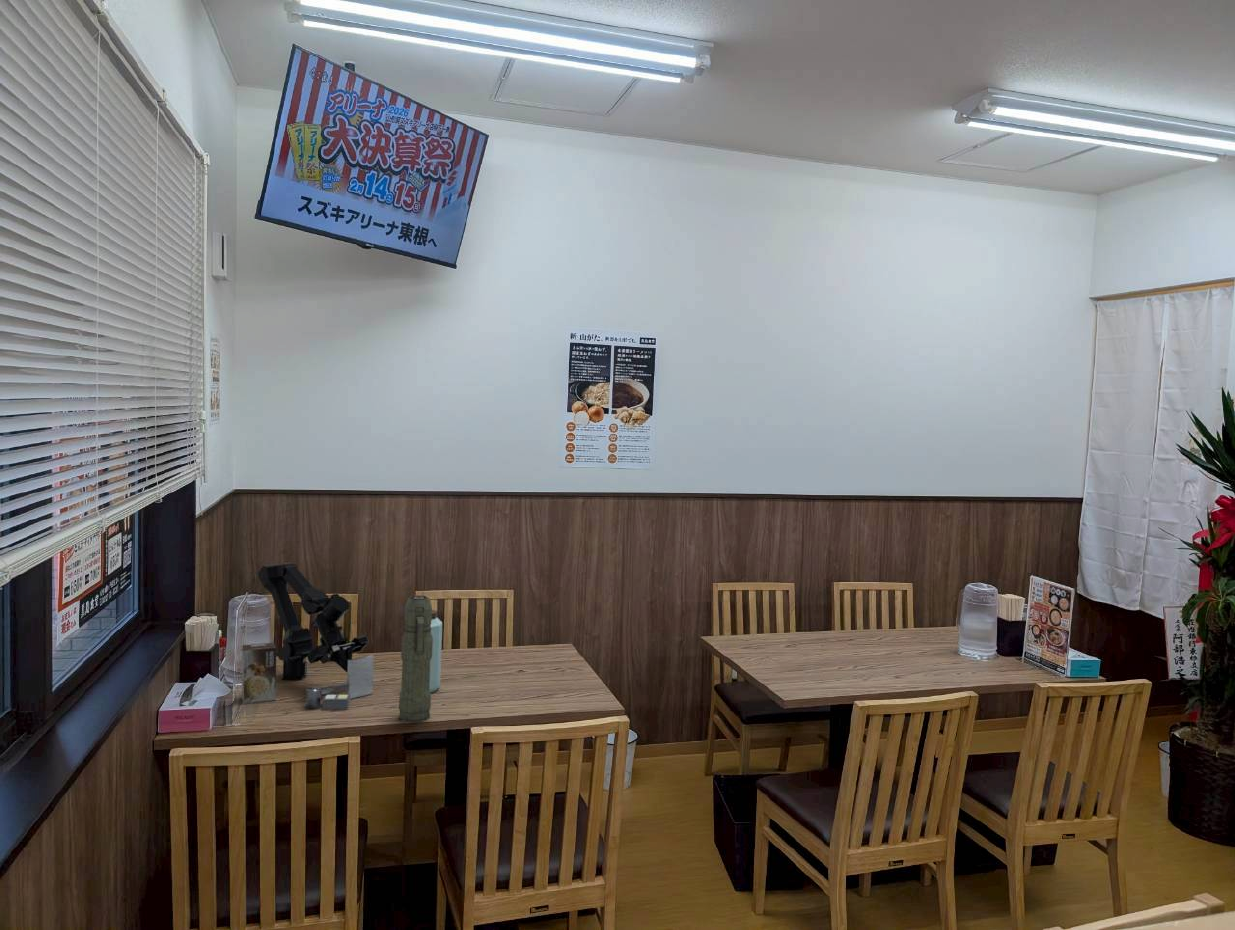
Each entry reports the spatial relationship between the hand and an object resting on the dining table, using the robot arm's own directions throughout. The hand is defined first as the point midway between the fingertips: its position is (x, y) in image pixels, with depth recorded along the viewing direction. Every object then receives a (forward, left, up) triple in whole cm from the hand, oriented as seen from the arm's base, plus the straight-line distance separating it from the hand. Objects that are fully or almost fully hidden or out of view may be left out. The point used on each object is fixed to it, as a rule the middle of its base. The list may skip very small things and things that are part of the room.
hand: (350, 672), depth 254 cm
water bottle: (+21, +9, -8) cm, 24 cm away
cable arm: (-2, -3, -8) cm, 8 cm away
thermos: (+22, -15, -8) cm, 28 cm away
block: (-2, -8, -8) cm, 11 cm away
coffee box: (-26, -3, -8) cm, 27 cm away
